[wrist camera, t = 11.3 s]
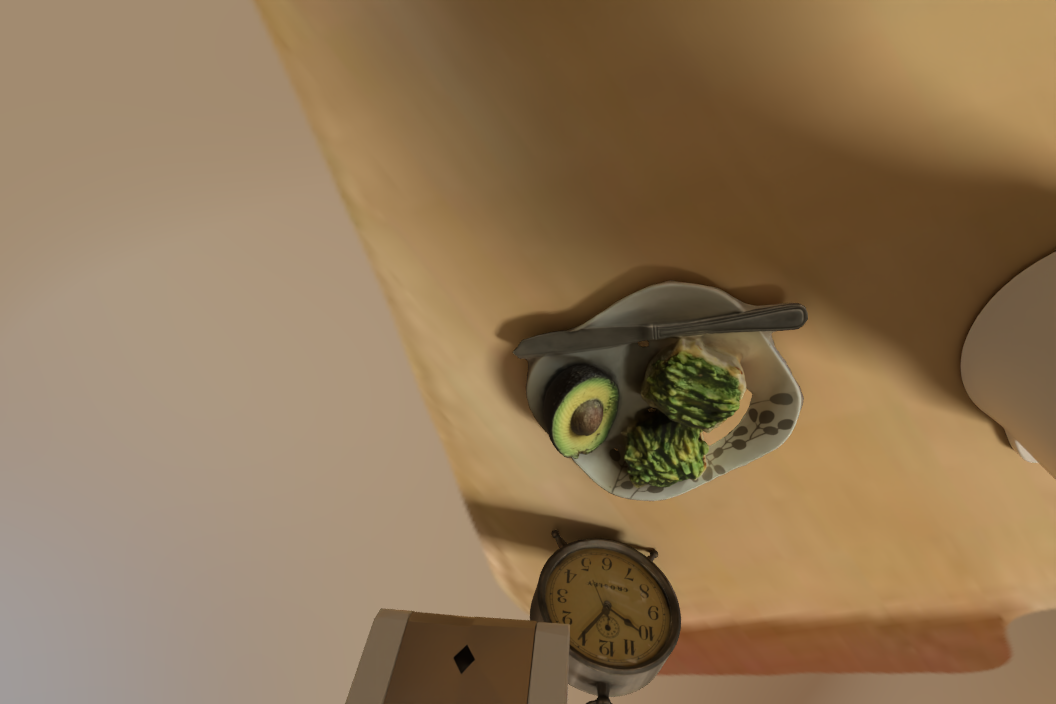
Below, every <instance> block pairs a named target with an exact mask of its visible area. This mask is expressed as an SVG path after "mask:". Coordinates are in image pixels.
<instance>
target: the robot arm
mask: <svg viewBox="0 0 1056 704" xmlns="http://www.w3.org/2000/svg"><path fill="white" fill-rule="evenodd" d="M961 377H962V381H963V384H964V387H965V390H966V392H967V394H968V395H969V397H970V398H971V400H972V401H973V402H974V404H975V405H976V406H977V407H978V408H979V409H980V410H982V411H983V412H984V413H986V414H987V415H988V416H990V417H991V418H992V419H994V420H995V421H996V422H997V423H998V424H1000V425H1001V426H1002V427H1003V428H1004V429H1005V432H1006V435H1007V438H1008V440H1009V443H1010V445H1011V447H1012V448H1013V449H1014V450H1015V451H1016V452H1017V453H1018V454H1019V455H1020V456H1021V457H1022V458H1023V459H1024V460H1026V461H1028V462H1031V463H1039V464H1040V465H1041V466H1042V467H1043V468H1044V469H1045V470H1046V471H1047V472H1048V473H1049V474H1050V475H1051V476H1052V477H1053V478H1054V479H1056V252H1054V253H1052V254H1050V255H1048V256H1046V257H1044V258H1043V259H1041V260H1039V261H1038V262H1036V263H1034V264H1033V265H1031V266H1030V267H1028V268H1027V269H1025V270H1024V271H1022V272H1021V273H1020V274H1018V275H1017V276H1016V277H1014V278H1013V279H1012V280H1011V281H1010V282H1008V283H1007V284H1006V285H1005V286H1004V287H1003V288H1002V289H1001V290H1000V291H998V292H997V294H996V295H995V296H994V297H993V298H992V299H991V300H990V301H989V302H988V303H987V305H986V306H985V307H984V308H983V310H982V311H981V312H980V314H979V315H978V317H977V318H976V320H975V321H974V323H973V325H972V327H971V329H970V331H969V333H968V335H967V338H966V340H965V343H964V347H963V350H962V355H961ZM569 644H570V624H559V623H546V622H538V623H537V621H530V620H515V619H501V618H486V617H466V616H455V615H444V614H433V613H422V612H414V611H406V610H394V609H380V611H379V613H378V614H377V616H376V617H375V619H374V621H373V625H372V627H371V630H370V633H369V636H368V639H367V642H366V645H365V647H364V650H363V654H362V656H361V659H360V662H359V665H358V668H357V671H356V674H355V677H354V680H353V682H352V685H351V688H350V691H349V694H348V697H347V700H346V703H345V704H567V695H568V670H569Z"/></svg>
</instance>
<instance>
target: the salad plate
mask: <svg viewBox="0 0 1056 704" xmlns="http://www.w3.org/2000/svg"><path fill="white" fill-rule="evenodd" d="M807 319H808V312H807V310H806V307H805V306H803V305H801V304H799V303H781V304H773V305H763V306H755V305H750V304H746V303H743V302H741V301H740V300H738V299H736V298H734V297H732V296H731V295H730V294H728V293H726V292H724V291H723V290H721V289H719V288H716V287H711V286H705V285H700V284H693V283H685V282H677V281H672V280H671V281H666V282H663V283H659V284H654V285H650V286H648V287H646V288H644V289H641V290H639V291H637V292H635V293H632V294H630V295H628V296H626V297H624V298H623V299H621V300H619V301H617V302H615V303H614V304H612V305H611V306H610V307H608V308H607V309H606V310H604V311H602V312H600V313H599V314H597V315H596V316H594V317H593V318H592V319H590V320H588V321H587V322H585V323H584V324H582V325H580V326H577V327H575V328H573V329H569V330H565V331H556V332H550V333H545V334H541V335H537V336H534V337H531V338H528V339H524V340H522V341H521V342H520V344H519V345H518V347H517V348H516V349H515V350H514V351H513V353H514V354H515V355H516V356H517V357H518V358H520V359H526V360H527V361H528V374H527V383H526V395H527V400H528V403H529V407H530V409H531V411H532V413H533V415H534V417H535V418H536V420H537V421H538V422H539V424H540V425H541V427H542V428H543V429H544V430H545V431H546V432H547V433H548V434H549V437H550V440H551V441H552V443H553V445H554V446H555V448H556V449H557V451H559V452H560V454H562V455H563V456H564V457H567V458H569V457H571V458H572V459H573V460H574V462H575V463H576V464H577V465H578V466H580V467H581V469H582V470H583V471H584V472H585V473H586V474H587V475H588V476H589V477H590V478H591V479H592V480H593V481H594V482H596V483H597V484H598V485H599V486H600V487H601V488H603V489H604V490H606V491H608V492H609V493H611V494H613V495H616V496H619V497H622V498H626V499H632V500H644V501H657V500H666V499H669V498H672V497H675V496H678V495H681V494H683V493H685V492H688V491H690V490H692V489H694V488H696V487H698V486H700V485H702V484H705V483H706V482H709V481H711V480H713V479H715V478H716V477H718V476H721V475H724V474H726V473H727V472H729V471H731V470H733V469H736V468H738V467H741V466H745V465H747V464H748V463H749V462H752V461H754V460H756V459H758V458H760V457H762V456H764V455H765V454H767V453H770V452H771V451H773V450H775V449H777V448H778V447H779V446H781V445H782V444H783V443H784V442H785V441H786V440H787V438H788V437H789V436H790V434H791V433H792V431H793V429H794V427H795V425H796V422H797V419H798V416H799V413H800V410H801V408H802V405H803V399H804V398H803V395H802V392H801V389H800V386H799V385H798V383H797V382H796V380H795V379H794V377H793V376H792V373H791V370H790V369H789V367H788V365H787V364H786V361H785V360H784V359H783V357H782V356H781V355H780V353H779V352H778V351H777V350H776V348H775V346H774V342H773V340H772V336H771V334H772V333H773V332H775V331H783V330H795V329H799V328H800V327H802V326H803V325H804V324H805V323H806V321H807ZM645 340H648V342H649V346H648V347H641V346H639V345H638V342H639V341H645ZM746 388H747V389H748V390H749V391H750V392H751V393H752V398H751V402H750V406H749V408H748V410H747V412H746V414H745V415H744V416H743V418H742V420H741V421H740V423H739V424H738V425H737V426H736V427H735V428H734V429H733V430H732V431H731V432H729V434H728V435H727V436H725V437H724V438H722V439H721V440H719V441H717V442H716V443H714V444H712V445H711V446H708V445H707V443H706V442H705V441H704V439H703V433H702V431H705V432H707V433H710V432H711V431H712V430H713V429H714V428H717V427H719V426H720V425H721V424H722V423H723V422H724V421H725V420H726V419H727V418H728V417H730V416H732V415H733V414H734V412H735V411H737V410H738V409H739V405H740V403H739V401H740V400H741V399H742V398H743V394H744V392H745V391H746ZM650 408H654V409H656V410H655V411H652V412H650V411H648V409H650ZM615 449H617V450H618V451H617V450H615Z"/></svg>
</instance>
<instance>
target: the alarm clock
mask: <svg viewBox="0 0 1056 704" xmlns="http://www.w3.org/2000/svg"><path fill="white" fill-rule="evenodd" d="M552 537H553V538H555V539H556V541H557V544H558V546H559V548H560V549H559V550H557V551H556V552H555V553H554V554H553V555H552V556H551V557H550V558H549V559H548V560H547V562H546V563H545V565H544V567H543V569H542V571H541V574H540V577H539V581H538V585H537V588H536V590H535V593H534V596H533V599H532V603H531V609H530V621H537V623H538V622H546V623H559V624H570V644H569V670H568V684H569V685H571V686H573V687H575V688H577V689H579V690H581V691H584V692H586V693H589V694H593V695H597V696H598V698H597V700H595V701H589V702H588V703H586V704H612V703H611V702H610V700H609V697H615V696H623V695H627V694H631V693H633V692H636V691H637V690H640V689H641V688H643V687H644V686H646V685H647V684H648V683H650V682H651V681H652V680H653V679H654V678H655V676H656V675H657V674H658V672H659V671H660V669H661V668H662V666H663V665H664V663H665V661H666V660H667V658H668V657H669V655H670V654H671V652H672V651H673V649H674V647H675V645H676V644H677V641H678V638H679V634H680V629H681V614H680V608H679V603H678V600H677V597H676V594H675V592H674V590H673V588H672V586H671V584H670V582H669V581H668V579H667V578H666V576H665V575H664V573H663V572H662V571H661V570H660V569H659V568H658V567H657V566H656V565H655V564H654V563H653V560H654V558H656V557H658V552H657V551H656V550H653V551H651V552H650V556H648V557H646V556H645V555H643V554H642V553H640V552H639V551H637V550H635V549H633V548H632V547H630V546H628V545H625V544H623V543H620V542H616V541H612V540H607V539H598V538H590V539H582V540H577V541H574V542H571V543H569V544H567V543H566V542H565V541H564V540H563V539H562V538H561V537H560V535H559V531H558V530H553V531H552Z"/></svg>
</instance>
